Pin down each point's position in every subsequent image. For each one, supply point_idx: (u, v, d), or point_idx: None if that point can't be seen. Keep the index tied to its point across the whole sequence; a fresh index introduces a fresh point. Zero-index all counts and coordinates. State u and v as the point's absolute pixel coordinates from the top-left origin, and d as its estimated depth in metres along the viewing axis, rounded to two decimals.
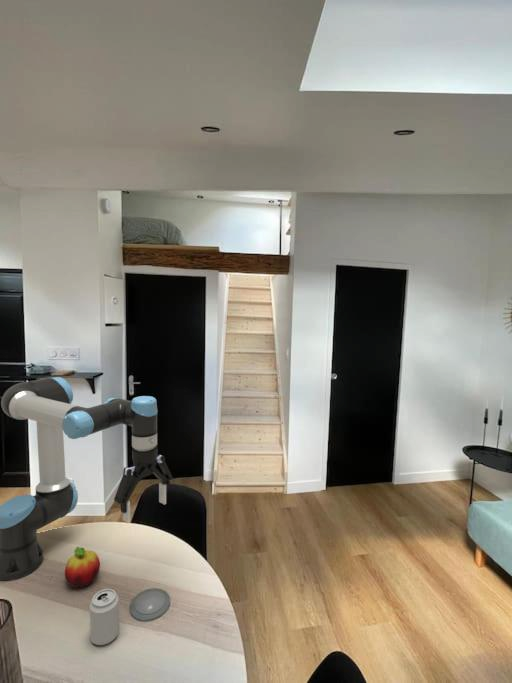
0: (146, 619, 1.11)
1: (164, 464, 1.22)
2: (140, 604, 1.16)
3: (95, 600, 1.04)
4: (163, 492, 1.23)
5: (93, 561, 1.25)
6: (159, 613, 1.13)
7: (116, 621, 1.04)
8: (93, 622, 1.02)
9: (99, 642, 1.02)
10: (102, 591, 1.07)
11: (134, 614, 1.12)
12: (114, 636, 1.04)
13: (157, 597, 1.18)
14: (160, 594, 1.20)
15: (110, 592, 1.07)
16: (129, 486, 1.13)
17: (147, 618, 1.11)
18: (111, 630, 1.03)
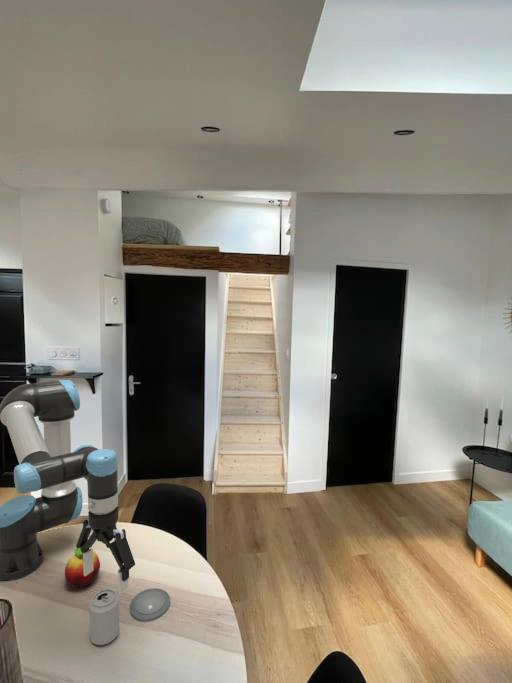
0: (146, 619, 1.11)
1: (118, 544, 0.99)
2: (140, 604, 1.16)
3: (95, 600, 1.04)
4: None
5: (93, 561, 1.25)
6: (159, 613, 1.13)
7: (116, 621, 1.05)
8: (92, 622, 1.02)
9: (99, 642, 1.02)
10: (102, 591, 1.07)
11: (134, 614, 1.12)
12: (114, 636, 1.04)
13: (157, 597, 1.18)
14: (160, 594, 1.20)
15: (110, 592, 1.07)
16: None
17: (147, 618, 1.11)
18: (111, 630, 1.03)
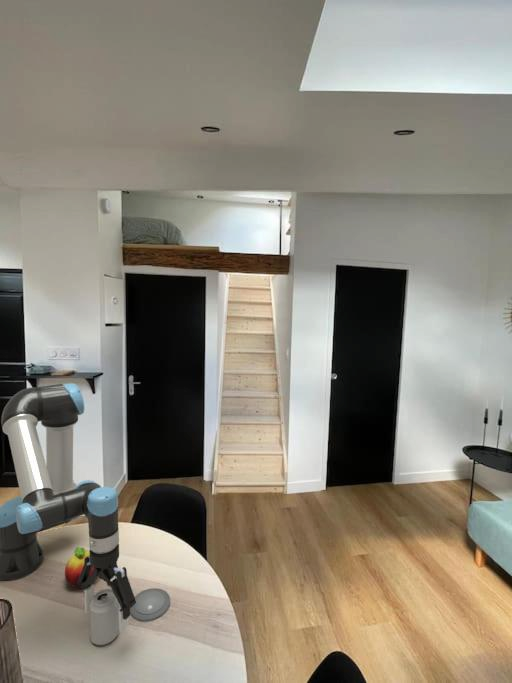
0: (146, 619, 1.11)
1: (119, 583, 1.00)
2: (140, 604, 1.16)
3: (95, 600, 1.04)
4: None
5: None
6: (159, 613, 1.13)
7: (116, 621, 1.04)
8: (92, 622, 1.02)
9: (99, 642, 1.02)
10: (102, 591, 1.07)
11: (134, 614, 1.12)
12: (114, 636, 1.04)
13: (157, 597, 1.18)
14: (160, 594, 1.20)
15: (110, 592, 1.07)
16: None
17: (147, 618, 1.11)
18: (111, 630, 1.03)
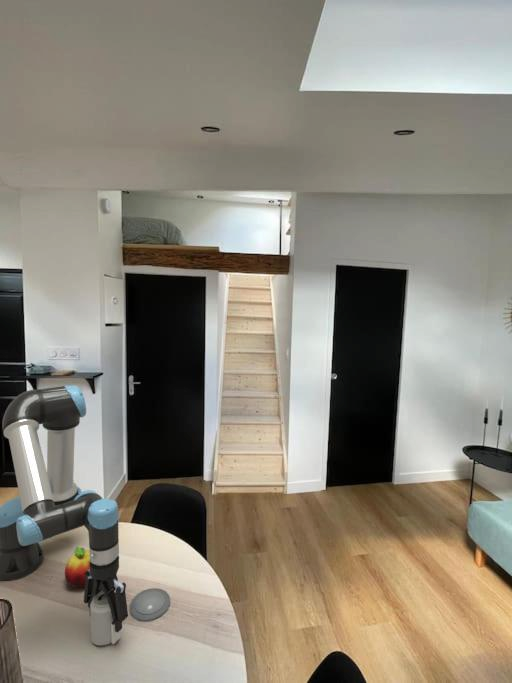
0: (146, 619, 1.11)
1: (116, 597, 1.01)
2: (140, 604, 1.16)
3: (96, 600, 1.04)
4: None
5: None
6: (159, 613, 1.13)
7: None
8: (93, 622, 1.02)
9: (100, 642, 1.02)
10: None
11: (134, 614, 1.12)
12: None
13: (157, 597, 1.18)
14: (160, 594, 1.20)
15: None
16: None
17: (147, 618, 1.11)
18: None
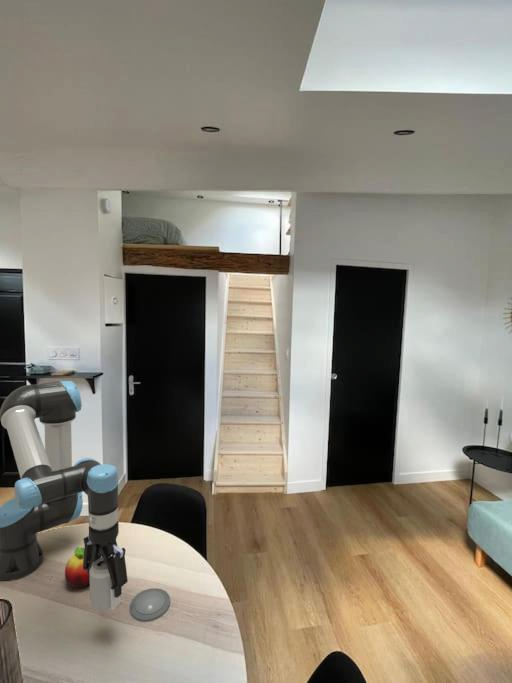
0: (146, 619, 1.11)
1: (116, 562, 1.00)
2: (140, 604, 1.16)
3: (95, 566, 1.03)
4: None
5: None
6: (159, 613, 1.13)
7: None
8: (92, 587, 1.01)
9: (99, 608, 1.01)
10: (102, 558, 1.06)
11: (134, 614, 1.12)
12: None
13: (157, 597, 1.18)
14: (160, 594, 1.20)
15: None
16: None
17: (147, 618, 1.11)
18: None
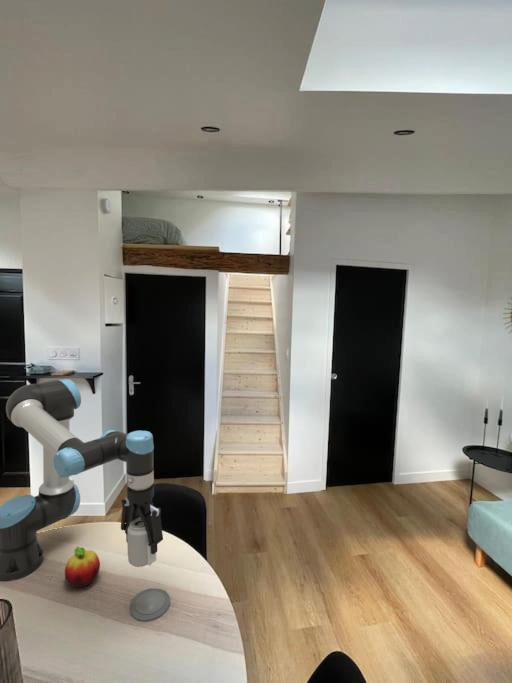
0: (146, 619, 1.11)
1: (152, 520, 1.07)
2: (140, 604, 1.16)
3: (132, 525, 1.11)
4: None
5: (93, 561, 1.25)
6: (159, 613, 1.13)
7: None
8: (131, 544, 1.09)
9: (137, 563, 1.09)
10: (138, 519, 1.14)
11: (134, 614, 1.12)
12: None
13: (157, 597, 1.18)
14: (160, 594, 1.20)
15: None
16: None
17: (147, 618, 1.11)
18: None
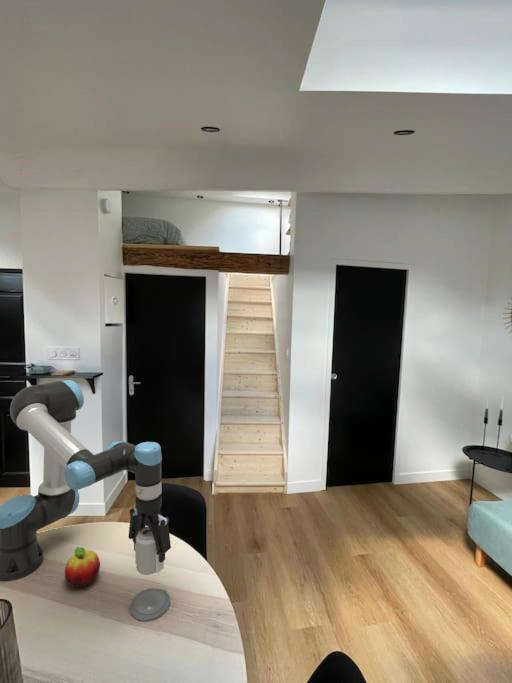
0: (146, 619, 1.11)
1: (161, 529, 1.10)
2: (140, 604, 1.16)
3: (141, 534, 1.14)
4: None
5: (93, 561, 1.25)
6: (159, 613, 1.13)
7: None
8: (139, 553, 1.11)
9: (145, 571, 1.12)
10: (146, 528, 1.16)
11: (134, 614, 1.12)
12: None
13: (157, 597, 1.18)
14: (160, 594, 1.20)
15: None
16: None
17: (147, 618, 1.11)
18: None
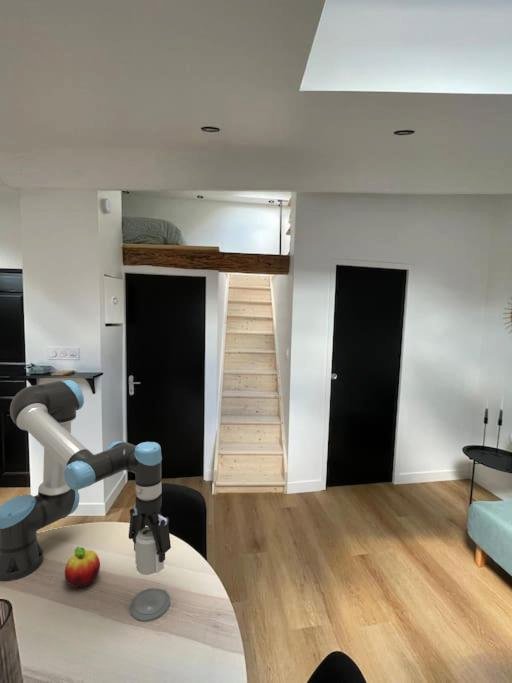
0: (146, 619, 1.11)
1: (161, 529, 1.10)
2: (140, 604, 1.16)
3: (141, 534, 1.14)
4: None
5: (93, 561, 1.25)
6: (159, 613, 1.13)
7: None
8: (139, 553, 1.11)
9: (145, 571, 1.12)
10: (146, 528, 1.16)
11: (134, 614, 1.12)
12: None
13: (157, 597, 1.18)
14: (160, 594, 1.20)
15: None
16: None
17: (147, 618, 1.11)
18: None
